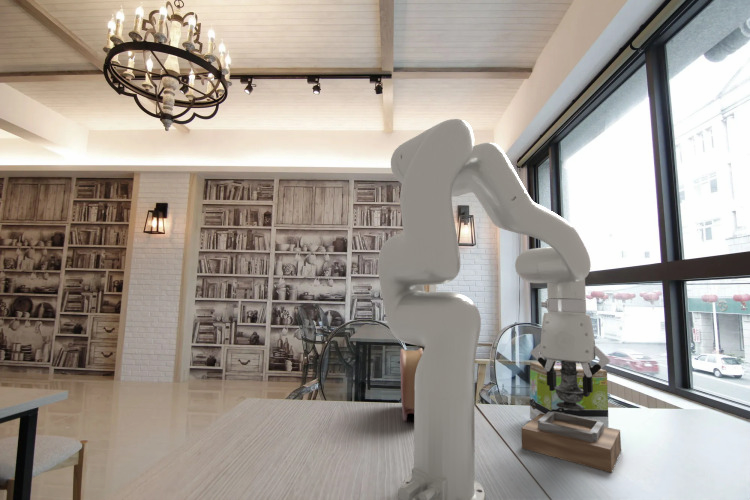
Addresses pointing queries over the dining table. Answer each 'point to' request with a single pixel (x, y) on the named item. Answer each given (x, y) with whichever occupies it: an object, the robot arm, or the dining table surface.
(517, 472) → the dining table surface
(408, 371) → the face sculpture
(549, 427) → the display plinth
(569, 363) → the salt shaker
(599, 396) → the tea box
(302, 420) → the dining table surface
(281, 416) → the dining table surface
